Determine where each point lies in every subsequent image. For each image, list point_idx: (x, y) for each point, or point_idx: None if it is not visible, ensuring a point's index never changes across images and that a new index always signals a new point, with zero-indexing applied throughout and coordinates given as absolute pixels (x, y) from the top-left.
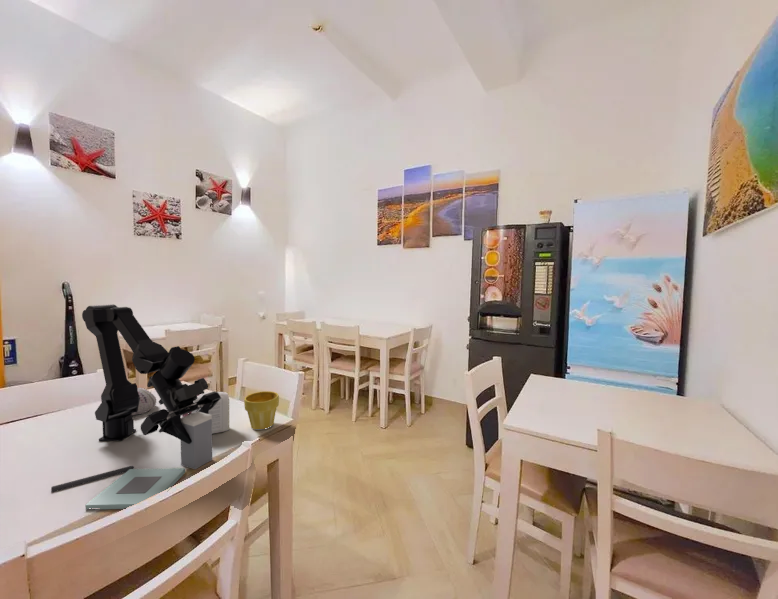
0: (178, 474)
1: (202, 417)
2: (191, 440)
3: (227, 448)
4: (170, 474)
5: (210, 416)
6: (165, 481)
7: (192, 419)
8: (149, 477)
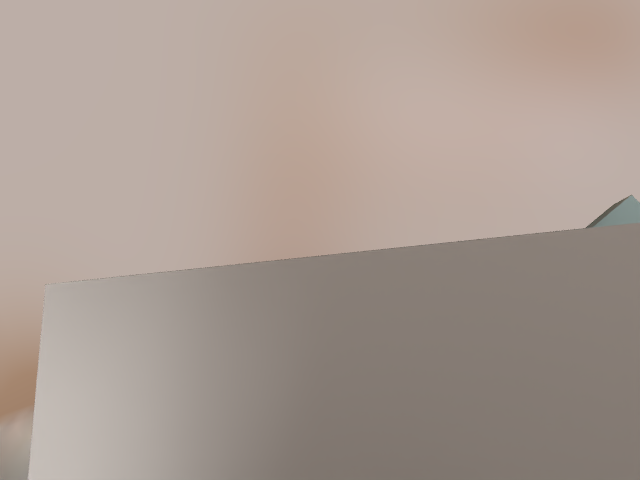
0: None
1: (347, 342)
2: None
3: (30, 447)
4: None
5: (113, 282)
6: None
7: (631, 463)
8: None
